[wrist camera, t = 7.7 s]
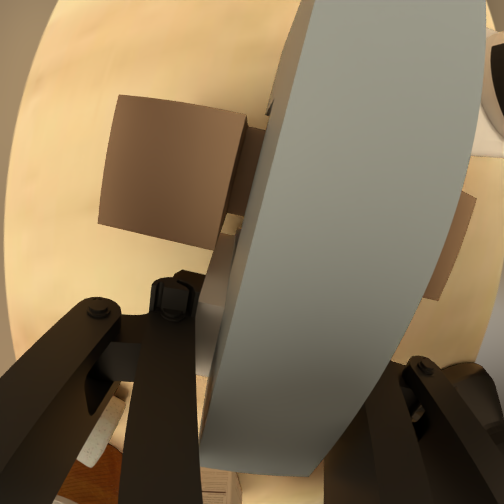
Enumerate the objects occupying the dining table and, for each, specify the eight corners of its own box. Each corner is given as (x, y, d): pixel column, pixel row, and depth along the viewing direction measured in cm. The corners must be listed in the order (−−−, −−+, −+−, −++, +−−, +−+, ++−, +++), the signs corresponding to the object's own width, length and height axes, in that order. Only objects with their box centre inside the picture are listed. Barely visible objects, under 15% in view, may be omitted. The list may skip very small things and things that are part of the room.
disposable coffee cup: (152, 470, 29) (134, 548, 18) (99, 469, 31) (77, 535, 19) (104, 426, 26) (70, 513, 15) (54, 428, 28) (19, 497, 16)
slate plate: (345, 69, 12) (484, -16, 2) (279, 301, 16) (308, 476, 6) (282, 50, 12) (339, -91, 2) (222, 289, 16) (195, 465, 6)
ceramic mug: (57, 340, 22) (14, 396, 15) (134, 389, 24) (107, 455, 17) (44, 395, 26) (15, 442, 18) (105, 433, 27) (84, 485, 20)
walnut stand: (375, 168, 18) (476, 198, 8) (357, 227, 19) (438, 300, 10) (186, 118, 17) (118, 94, 7) (172, 182, 18) (97, 223, 9)
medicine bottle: (478, 151, 17) (607, 179, 6) (401, 148, 17) (546, 172, 6) (468, 60, 15) (589, 39, 3) (388, 45, 15) (510, -20, 4)
